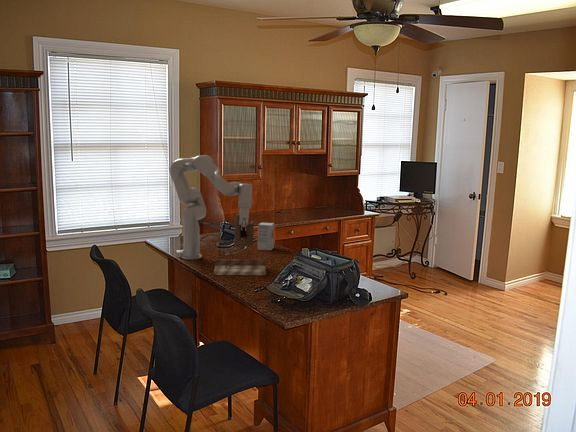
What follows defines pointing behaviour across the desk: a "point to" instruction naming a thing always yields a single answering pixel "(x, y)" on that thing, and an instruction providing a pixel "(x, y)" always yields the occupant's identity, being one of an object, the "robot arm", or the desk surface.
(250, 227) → the wooden block
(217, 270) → the marking board
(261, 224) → the supplement box
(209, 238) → the desk surface
